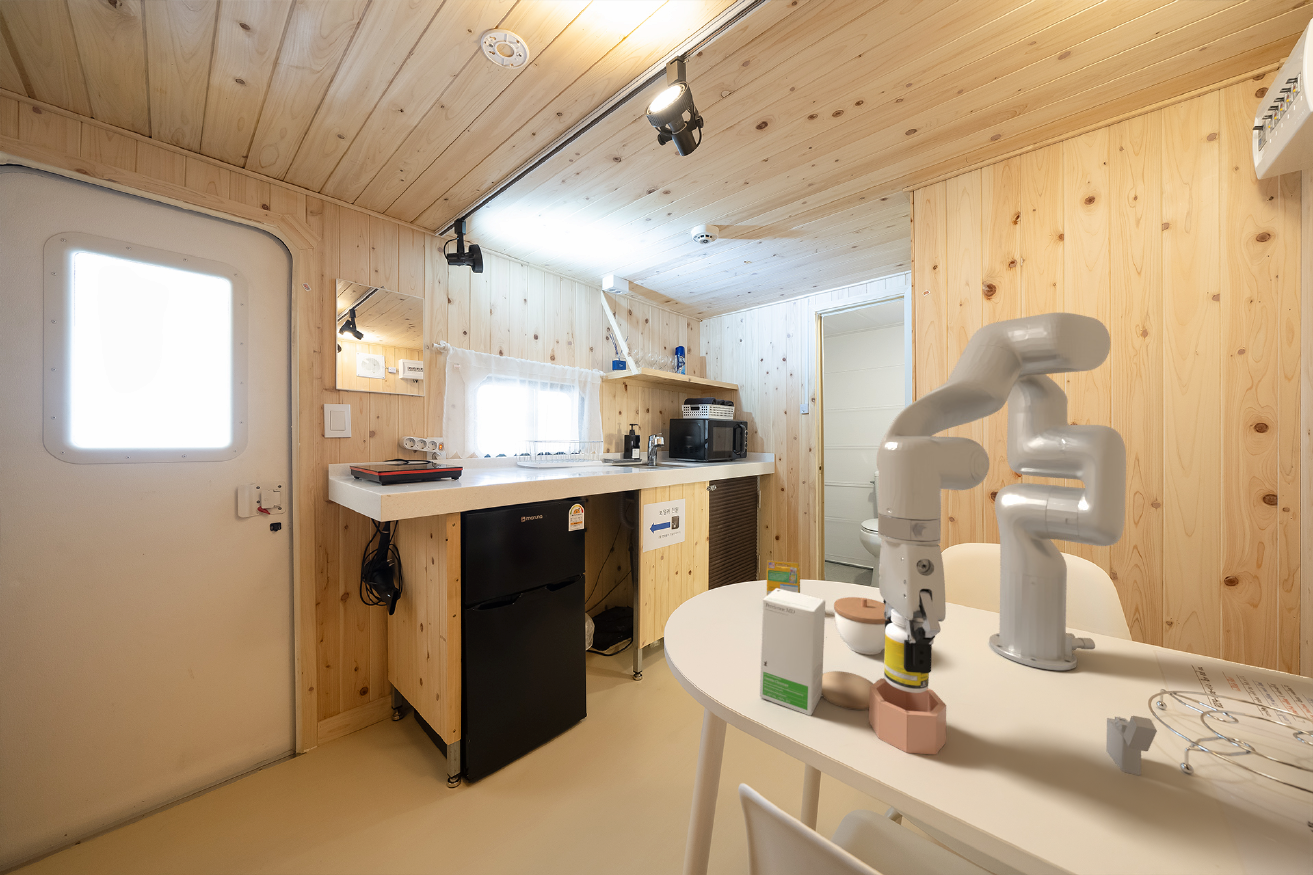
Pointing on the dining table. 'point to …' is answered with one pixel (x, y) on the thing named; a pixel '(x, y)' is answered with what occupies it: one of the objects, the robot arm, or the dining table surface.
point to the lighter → (1129, 741)
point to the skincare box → (792, 650)
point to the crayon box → (783, 576)
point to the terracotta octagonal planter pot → (907, 718)
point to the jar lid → (846, 690)
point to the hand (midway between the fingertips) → (906, 658)
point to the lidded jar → (861, 624)
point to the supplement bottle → (901, 657)
